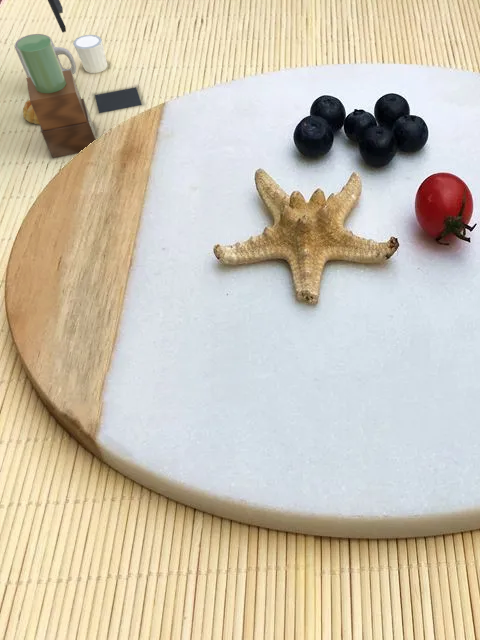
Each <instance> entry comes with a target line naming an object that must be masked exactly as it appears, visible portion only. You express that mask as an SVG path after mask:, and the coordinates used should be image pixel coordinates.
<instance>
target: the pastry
mask: <svg viewBox="0 0 480 640" xmlns="http://www.w3.org/2000/svg"><path fill="white" fill-rule="evenodd" d="M22 117H23V119H24V120H25V121H26V122H28V123H30V124H34V125H40V123H39V120H38V118H37V116H36V114H35V111H34V109H33V107H32V105H31V102H30V99H28V100H27V101H25V103H24V105H23V107H22Z"/></svg>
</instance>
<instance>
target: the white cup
mask: <svg viewBox="0 0 480 640" xmlns="http://www.w3.org/2000/svg"><path fill="white" fill-rule="evenodd" d="M72 45H73V47H74V49H75V51H76V53H77V56H78V58H79V60H80V62H81V64H82V67H83V69H84V71H86V72H87V73H90V74H96V73H101V72H103V71H106V69H107V68H108V61H107V57H106V51H105V48H104V43H103V39H102V37H100V36H99V35H96V34H84V35H81V36H79V37H76V38H75V39H74V40H73V43H72Z"/></svg>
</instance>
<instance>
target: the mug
mask: <svg viewBox="0 0 480 640" xmlns="http://www.w3.org/2000/svg"><path fill="white" fill-rule="evenodd" d="M32 35H44V36H47V37H48V38H49V39H50V40H51V43H52V46H53V48H54V51H55V53H56V56H57V59H58V61H59V64H60V66H61V69H62V71H68V70H71V72H72V75H73V76H74V75H75V74H76V71H77V64H76V61H75V59H74V56H73V54H72V53H71V52H70V50H69V49H67V48H65V47H62V46H61V47H59V46H55V44H54V42H53V40H52V38H51V37H50V36H49V35H47V34H43V33H33V34H32V33H31V34H27V35H25V36H22V37H20V38H19V39H17V40H16V42H15V43H14V49H15V51H16V54H17V56H18V58H19V60H20V63H21V66H22V68H23V70H24V73H25V75H26V78H29V77H30V75H29V73H28V71H27V68H26V66H25V64H24V61H23V59H22V57H21V54H20V52H19V50H18V47H17V44H18V42H19V41H20V40H21V39H23V38H25V37H28V36H32ZM60 55H61V56H62V55H64V56H66V57H67V58H68V60H69V63H70V68H64V67H63V65H62V62H61V59H60V58H59V56H60Z"/></svg>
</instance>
